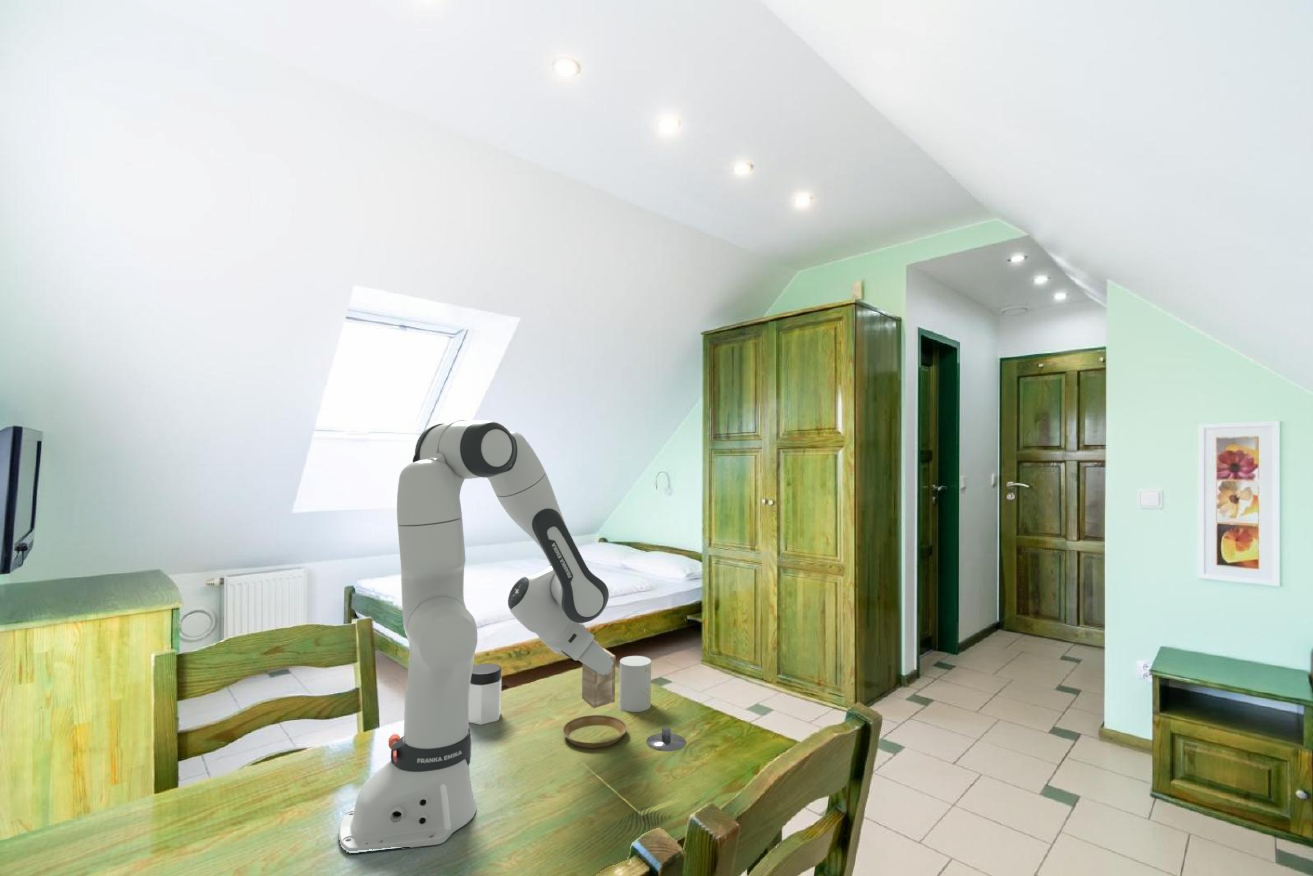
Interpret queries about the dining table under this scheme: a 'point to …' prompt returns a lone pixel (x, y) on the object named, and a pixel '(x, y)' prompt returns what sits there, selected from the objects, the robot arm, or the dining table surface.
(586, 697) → the vase
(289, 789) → the dining table surface
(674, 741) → the metal lid
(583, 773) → the dining table surface
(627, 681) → the white cylinder
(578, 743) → the plant saucer
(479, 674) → the jar
